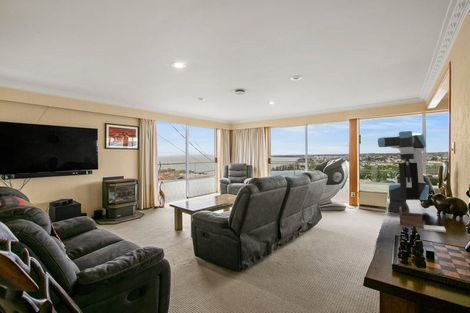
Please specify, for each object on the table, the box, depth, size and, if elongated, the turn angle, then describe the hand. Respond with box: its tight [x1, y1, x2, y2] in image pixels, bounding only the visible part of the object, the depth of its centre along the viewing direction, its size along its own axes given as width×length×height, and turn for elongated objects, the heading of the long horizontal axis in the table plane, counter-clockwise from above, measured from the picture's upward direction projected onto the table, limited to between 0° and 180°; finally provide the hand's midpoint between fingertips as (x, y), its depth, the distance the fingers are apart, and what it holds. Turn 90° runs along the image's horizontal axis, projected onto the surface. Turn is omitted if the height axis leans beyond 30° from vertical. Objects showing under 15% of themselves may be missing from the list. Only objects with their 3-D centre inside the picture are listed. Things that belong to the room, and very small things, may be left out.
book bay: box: [398, 207, 424, 228], centre depth 161 cm, size 13×12×10 cm
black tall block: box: [398, 159, 421, 201], centre depth 162 cm, size 8×8×28 cm
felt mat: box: [423, 224, 447, 233], centre depth 146 cm, size 10×10×1 cm
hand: (409, 186), depth 162 cm, fingers closed on black tall block, 9 cm apart
